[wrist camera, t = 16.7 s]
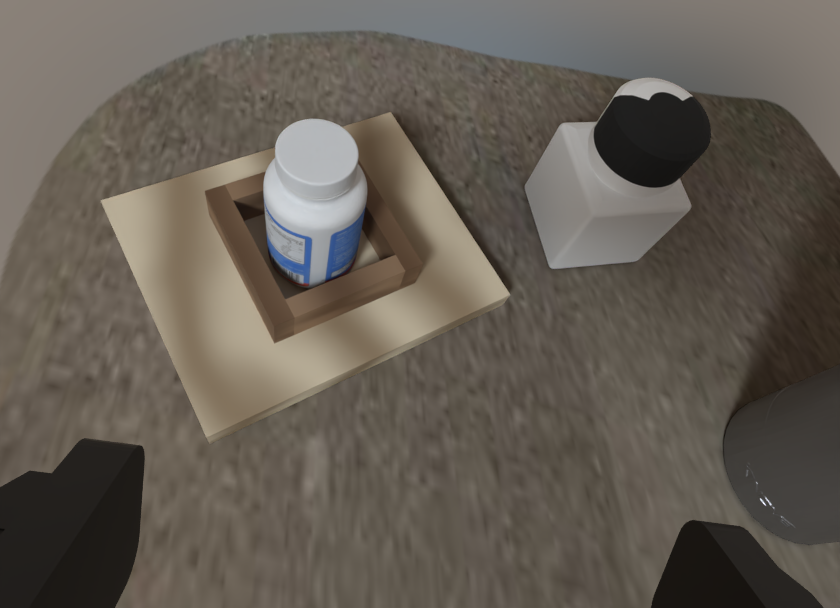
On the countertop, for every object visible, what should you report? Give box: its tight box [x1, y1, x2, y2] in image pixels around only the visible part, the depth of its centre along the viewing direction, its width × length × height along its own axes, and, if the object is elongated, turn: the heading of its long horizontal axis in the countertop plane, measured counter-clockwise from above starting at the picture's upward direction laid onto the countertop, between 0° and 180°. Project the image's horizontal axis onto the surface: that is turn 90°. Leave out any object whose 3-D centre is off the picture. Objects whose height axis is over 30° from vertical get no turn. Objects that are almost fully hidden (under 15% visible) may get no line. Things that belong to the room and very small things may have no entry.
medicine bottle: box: [525, 78, 711, 269], centre depth 40 cm, size 7×7×12 cm
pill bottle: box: [263, 119, 367, 288], centre depth 34 cm, size 6×5×10 cm
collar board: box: [101, 112, 510, 444], centre depth 38 cm, size 20×16×4 cm
